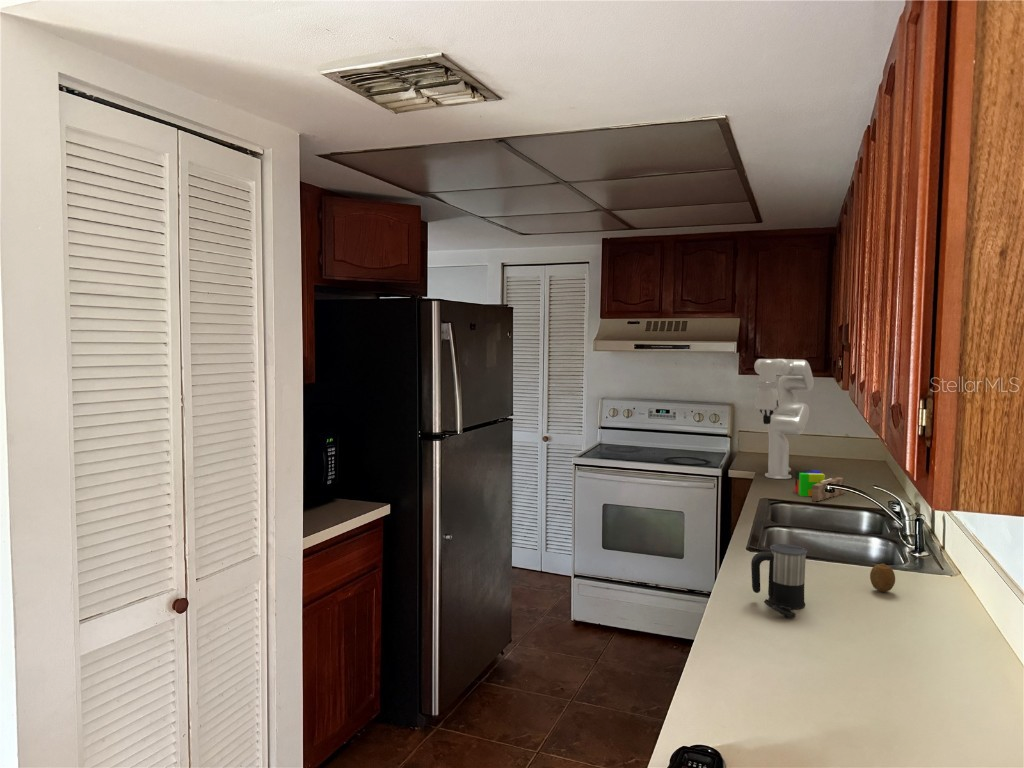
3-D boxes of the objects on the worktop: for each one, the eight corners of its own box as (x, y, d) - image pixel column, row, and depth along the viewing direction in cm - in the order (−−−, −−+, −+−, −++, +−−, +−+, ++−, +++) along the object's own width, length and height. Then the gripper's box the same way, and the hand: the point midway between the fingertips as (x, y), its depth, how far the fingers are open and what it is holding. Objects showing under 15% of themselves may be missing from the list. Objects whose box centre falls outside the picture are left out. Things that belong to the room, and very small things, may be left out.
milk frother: (794, 596, 194) (795, 542, 193) (827, 618, 178) (828, 560, 177) (744, 598, 192) (746, 544, 191) (773, 621, 176) (775, 563, 175)
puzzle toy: (818, 492, 324) (818, 470, 324) (824, 497, 314) (824, 474, 314) (795, 491, 326) (795, 470, 325) (800, 496, 316) (801, 474, 315)
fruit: (880, 596, 193) (881, 567, 193) (864, 588, 199) (865, 560, 199) (900, 594, 195) (901, 566, 194) (883, 587, 201) (884, 559, 200)
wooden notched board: (838, 492, 324) (838, 475, 323) (843, 493, 322) (844, 476, 321) (811, 501, 306) (812, 483, 306) (817, 502, 304) (818, 484, 304)
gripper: (749, 385, 343) (748, 423, 344) (778, 386, 332) (777, 425, 333) (757, 384, 348) (756, 421, 349) (786, 386, 337) (785, 424, 338)
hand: (766, 423), depth 341 cm, fingers closed
